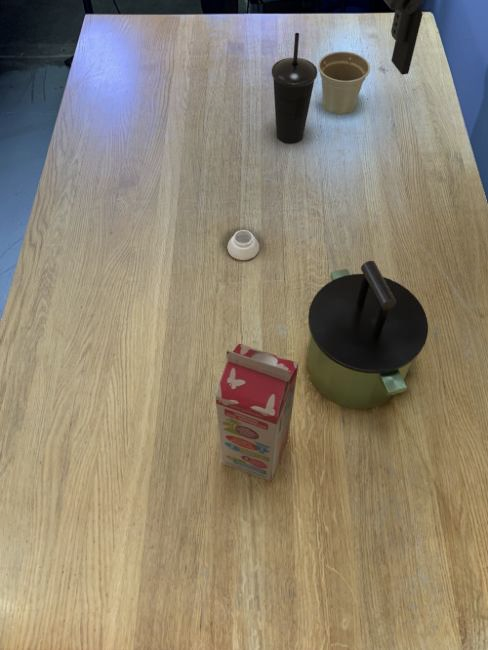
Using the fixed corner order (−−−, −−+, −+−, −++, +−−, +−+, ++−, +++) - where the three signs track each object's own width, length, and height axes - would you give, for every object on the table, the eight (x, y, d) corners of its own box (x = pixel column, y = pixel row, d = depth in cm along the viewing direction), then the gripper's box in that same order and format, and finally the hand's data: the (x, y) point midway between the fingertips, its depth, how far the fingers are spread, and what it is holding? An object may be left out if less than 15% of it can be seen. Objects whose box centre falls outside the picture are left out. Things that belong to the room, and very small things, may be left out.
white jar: (221, 246, 96) (238, 266, 94) (221, 233, 94) (238, 253, 92) (247, 233, 98) (265, 252, 96) (247, 220, 96) (265, 240, 93)
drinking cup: (316, 130, 112) (328, 27, 96) (301, 155, 109) (310, 52, 92) (278, 120, 114) (284, 16, 98) (262, 144, 110) (265, 40, 94)
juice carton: (240, 418, 79) (238, 325, 61) (288, 435, 78) (300, 345, 60) (221, 463, 76) (213, 378, 58) (271, 482, 74) (278, 401, 56)
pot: (373, 301, 90) (386, 255, 81) (429, 411, 80) (452, 372, 71) (287, 322, 88) (291, 278, 79) (334, 438, 78) (345, 401, 69)
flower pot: (349, 128, 113) (356, 87, 106) (305, 111, 116) (309, 71, 109) (370, 101, 117) (378, 60, 110) (327, 86, 120) (332, 45, 113)
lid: (395, 268, 81) (411, 221, 73) (446, 358, 73) (469, 316, 65) (291, 293, 79) (296, 247, 71) (332, 389, 71) (342, 348, 63)
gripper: (635, -220, 52) (538, 20, 70) (369, -189, 48) (337, 57, 66) (694, -191, 48) (575, 55, 66) (410, -155, 44) (364, 97, 62)
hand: (456, 56), depth 66 cm, fingers open, 13 cm apart
